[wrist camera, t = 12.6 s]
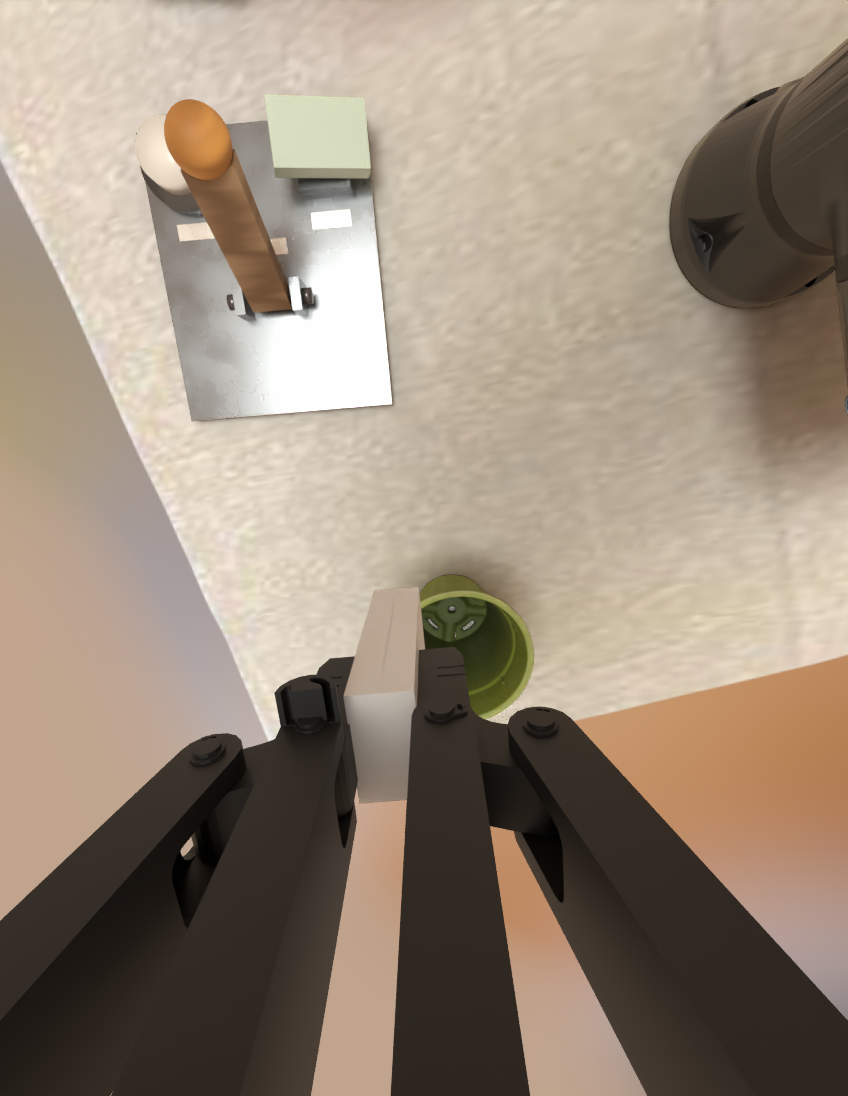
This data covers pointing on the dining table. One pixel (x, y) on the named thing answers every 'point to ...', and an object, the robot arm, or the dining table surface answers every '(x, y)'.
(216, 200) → the lever
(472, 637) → the plant pot
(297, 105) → the light green rectangular block
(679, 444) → the dining table surface
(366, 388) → the panel
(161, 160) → the button
